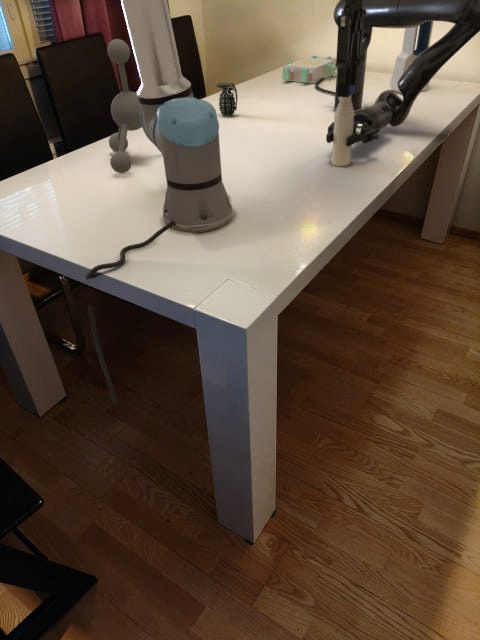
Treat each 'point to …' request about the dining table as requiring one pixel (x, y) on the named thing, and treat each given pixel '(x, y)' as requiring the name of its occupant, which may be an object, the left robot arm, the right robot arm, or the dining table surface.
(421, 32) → the electronic device
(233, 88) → the grenade
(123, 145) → the molecular model
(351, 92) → the cap
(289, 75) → the decorative block
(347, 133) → the bottle
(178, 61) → the left robot arm
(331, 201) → the dining table surface
